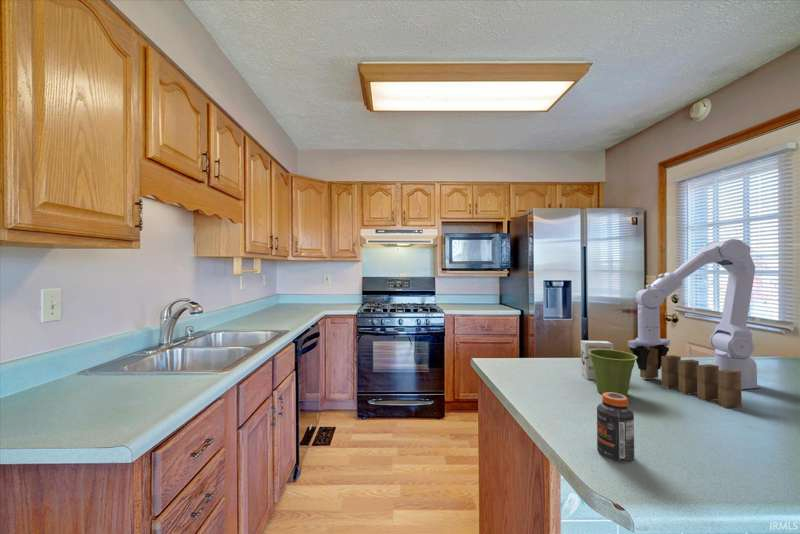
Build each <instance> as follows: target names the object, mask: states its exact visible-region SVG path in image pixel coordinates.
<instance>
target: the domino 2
mask: <svg viewBox="0 0 800 534" xmlns="http://www.w3.org/2000/svg"><path fill="white" fill-rule="evenodd" d="M679 360H682V358H681V356H680V355H665V356H661V368H660V370H661V371H660V372H661V386H662V385H663V386H665V387H664V388H666V387H675V388H679V379H678V361H679ZM663 386H662V387H663Z"/></svg>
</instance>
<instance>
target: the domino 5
mask: <svg viewBox="0 0 800 534" xmlns="http://www.w3.org/2000/svg"><path fill="white" fill-rule="evenodd" d="M717 401H718V404H717V405H719V407H721V406H722V407H721V408H724V407H725V409H732V408H731V407H734V408H741V407H742V404H743V401H742V389H741V371H738V370H734V369H730V370H718V399H717Z"/></svg>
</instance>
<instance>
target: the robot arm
mask: <svg viewBox="0 0 800 534" xmlns="http://www.w3.org/2000/svg"><path fill="white" fill-rule="evenodd" d="M712 263H715V264H717V265H719V266H721V267H722V268H724V269H725V270H726V271H727V272H728V277H727V278H728V279H727V283H726V288H725V289H726V290H725V295H724V300H723V301H724V302H723V310H722V315H721V321H720V322H719V323H718V324H717V325H716V326H714V331H713V332H712V334H710V337H709V344H710V346H711V347H712V348H713V349H714V365H717V366H719V370H730V369H734V370H738V371H741V390H745V389H746V390H750V389H758V388H760V389H761V388H762V386H761V385H759V384H758V367H757V363H756V361H755V360H754V359H753V358H752V357H750V356H751V355H752V354H753V353H754V351H755V344H754V342H753V333H752V332H751V330H750V329H749V328H748V327H747V324H748V319H749V318H748V317H749V310H750V306H751V305H750V304H751V298H752V292H753V286H754V279H755V273H756V265H755V263H754V261H753V258H752V256H751V247H750V246H749V245H747V244H746V243H745V242H744V241H742V240H740V239H738V238H731V239H727V240H720V241H718V240H717V241H710V242H708V243H707V244H705V246H702V247H701V248H699V249H698V250H697V251H696V252H695V253H694V254H693V255H691V256H690V257H689V258H688V259H687V260H686V261H684V262H683V263H682V264H681V265H680V266H679V267H678V268H676V269H675V270H674V271H673V272H665V273H659V274H658V275H657V277H658V278H657V279H655V280H653V282H652V283H650V284H646V285H645V289H640V290H638V291H637V292H636V293H635V296H634V297H633V301H634V302H635V303H636V305H637V337H635V339H630V340H627V347H629V350H630V351H631V354H633V355H636V356H637V357H638V358H637V359H636V360H635V363H636V364H637V367H638V370H640V369H641V370H646V368H647V358H648V355H649V352H650V350H648V349H647V348H654V349H658V370H661V356H667V354H668V352H670V348H669V347H671V339H667V338H661V323H660V322H661V321H660V320H661V319H660V318H661V317H660V316H661V315H660V314H661V313H660V306H663V304H664V303H665V302H664V301H665V299H667V298H668V296H670V295H672V294H673V293H674V292H675V291H677V290H678V289H680V288H681V287H682V286H683V281H684V280H685V279H686V278H688V277H689V276H690V275H692V274H693V273H695V272H696V271H698V270H699V269H700V268H702V267H703V266H705V265H707V264H712ZM646 347H647V348H646Z"/></svg>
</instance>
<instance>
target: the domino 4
mask: <svg viewBox="0 0 800 534" xmlns="http://www.w3.org/2000/svg"><path fill="white" fill-rule="evenodd" d="M718 370H719V366H717V365H715V364H713V363H709V364H699V365H697V393H696V394H697V399H698V398H699V399H698V400H701V399H702V400H701V401H704V400H708V401H715V399H717V400H718Z"/></svg>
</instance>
